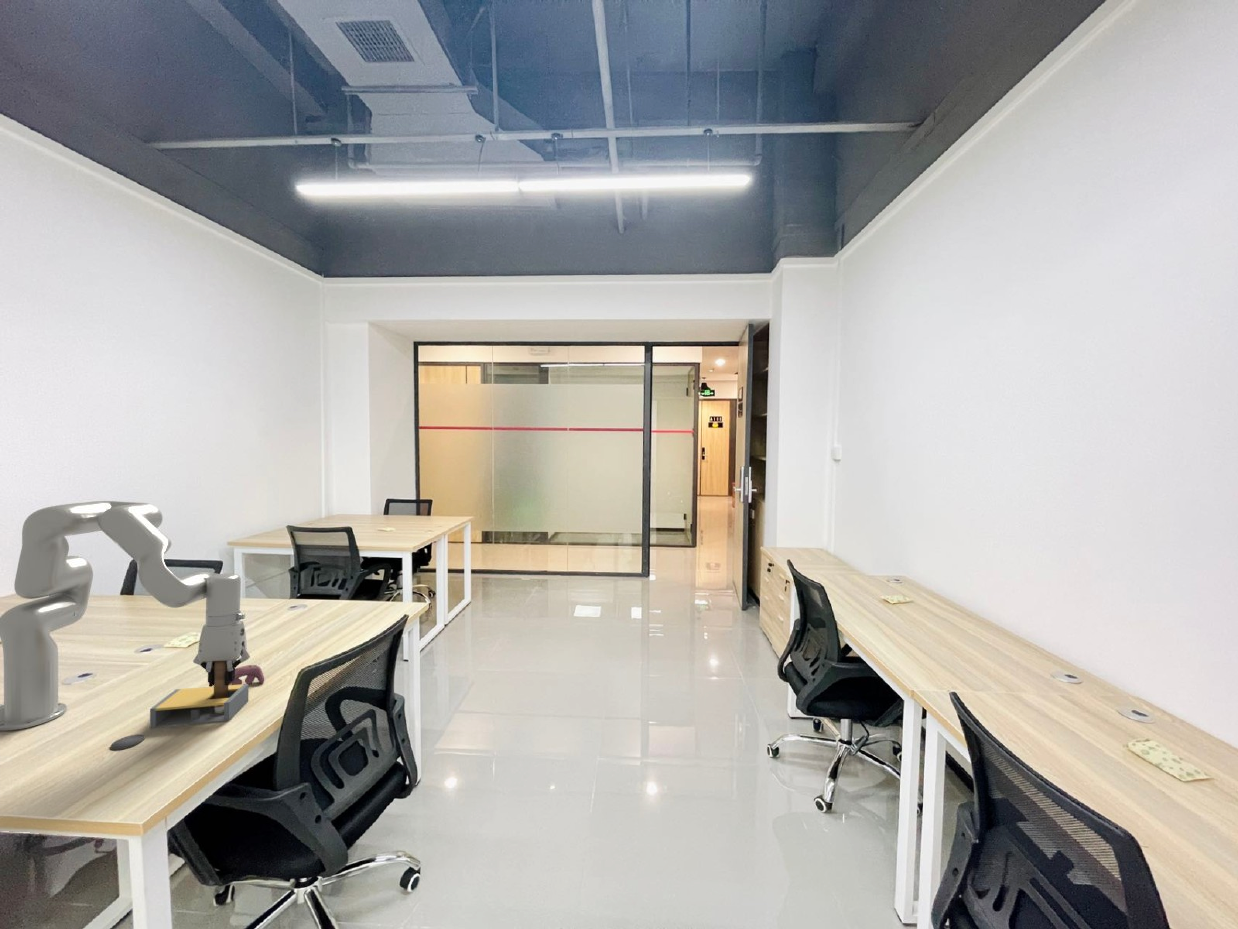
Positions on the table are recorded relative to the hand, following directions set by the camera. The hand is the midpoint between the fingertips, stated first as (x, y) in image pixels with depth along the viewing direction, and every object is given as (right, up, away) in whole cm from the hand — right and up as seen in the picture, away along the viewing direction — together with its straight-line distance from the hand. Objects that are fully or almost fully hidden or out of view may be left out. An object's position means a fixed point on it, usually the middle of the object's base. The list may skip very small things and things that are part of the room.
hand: (221, 683), depth 140 cm
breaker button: (0, -8, 0) cm, 8 cm away
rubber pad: (-11, -8, -15) cm, 21 cm away
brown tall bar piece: (0, -5, 0) cm, 5 cm away
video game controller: (-6, -8, +16) cm, 19 cm away
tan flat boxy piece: (-5, -8, -1) cm, 9 cm away
